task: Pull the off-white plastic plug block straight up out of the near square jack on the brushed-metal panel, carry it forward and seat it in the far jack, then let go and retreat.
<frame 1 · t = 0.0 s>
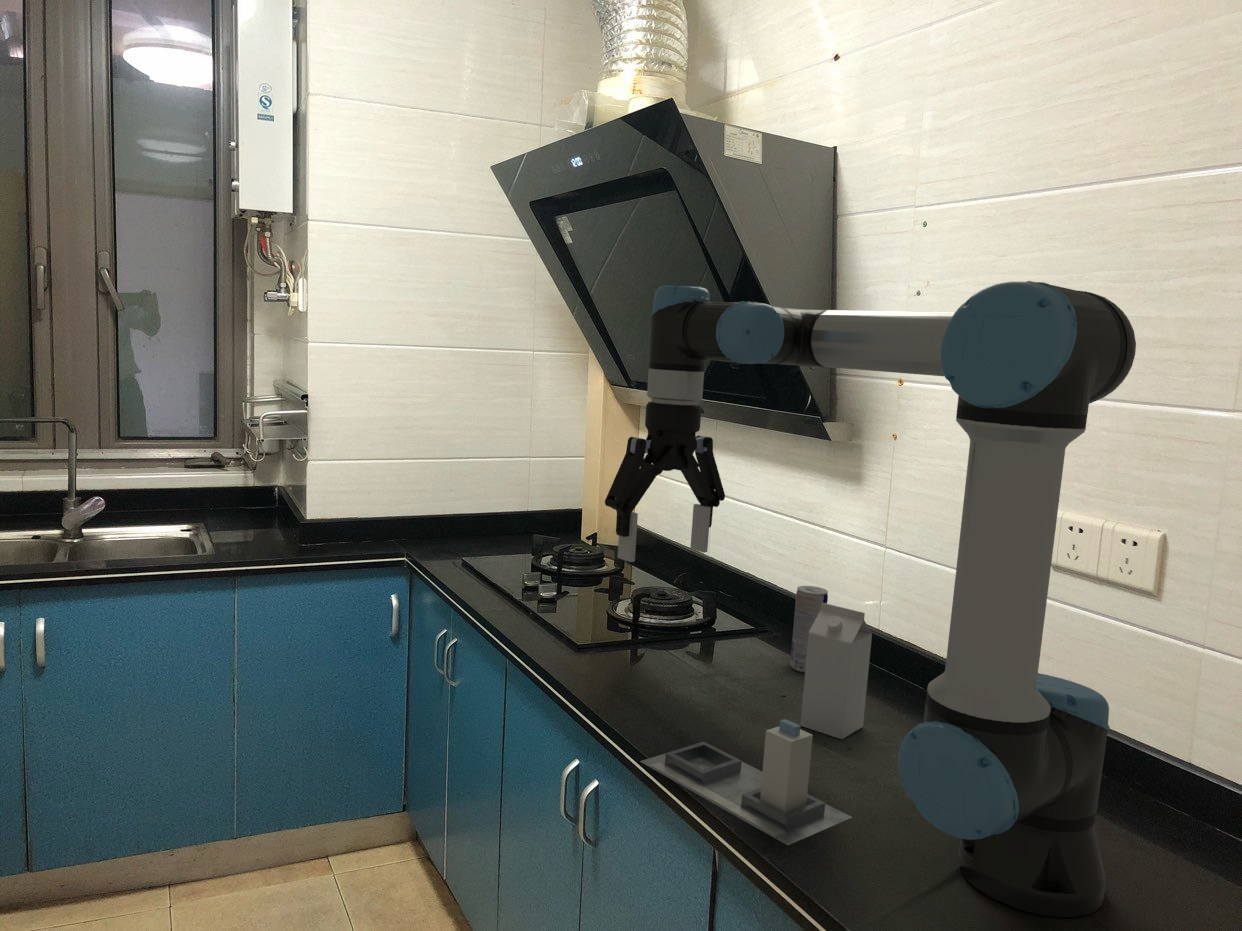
hand: (663, 555, 133), 28 cm above the worktop, fingers open, 13 cm apart
milk carton: (831, 728, 149), on the worktop
panel: (740, 795, 124), on the worktop
beverage can: (805, 670, 175), on the worktop
plug: (782, 810, 119), point 1 cm above the worktop, touching panel
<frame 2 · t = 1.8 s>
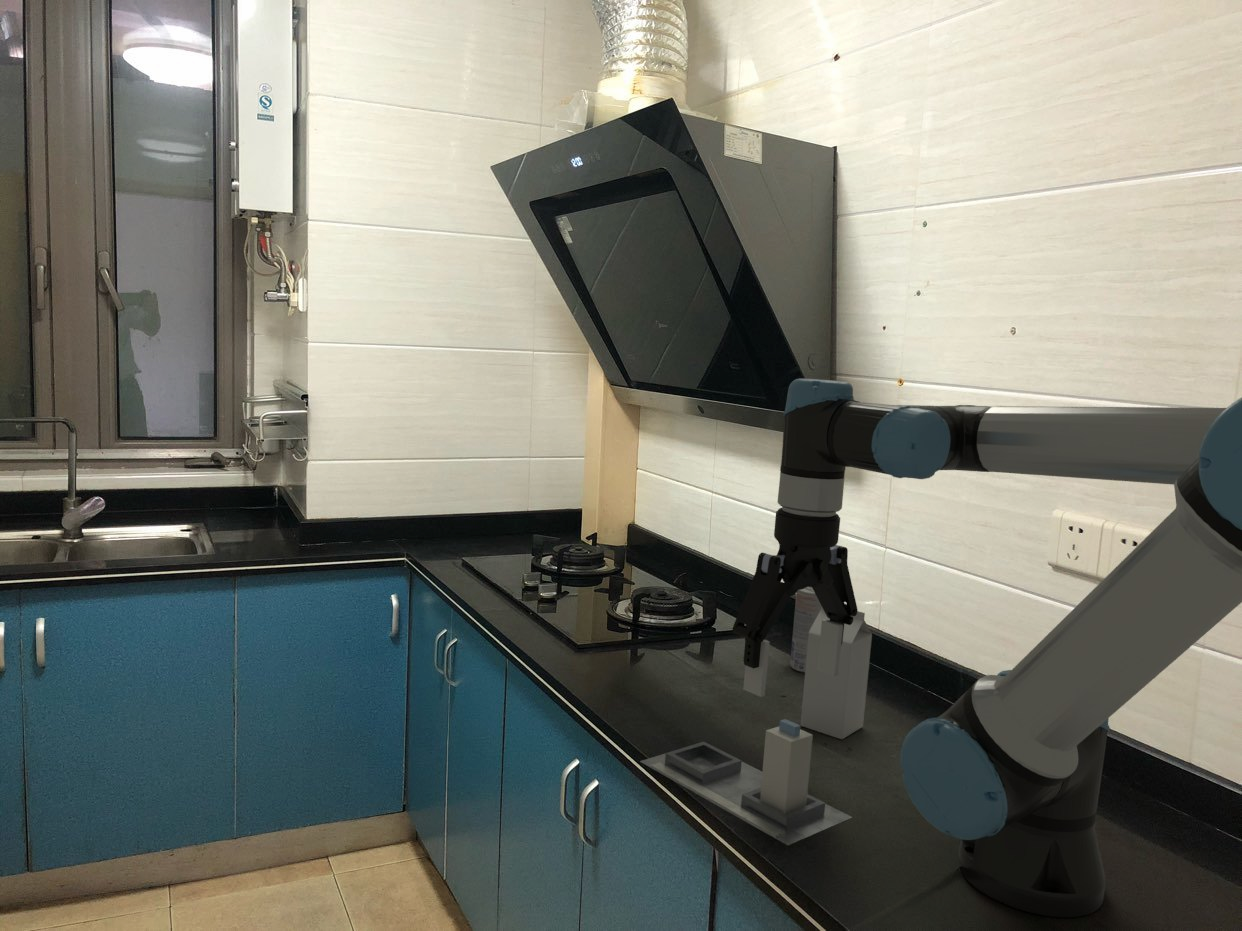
hand: (792, 682, 117), 17 cm above the worktop, fingers open, 13 cm apart
nothing on the worktop moved.
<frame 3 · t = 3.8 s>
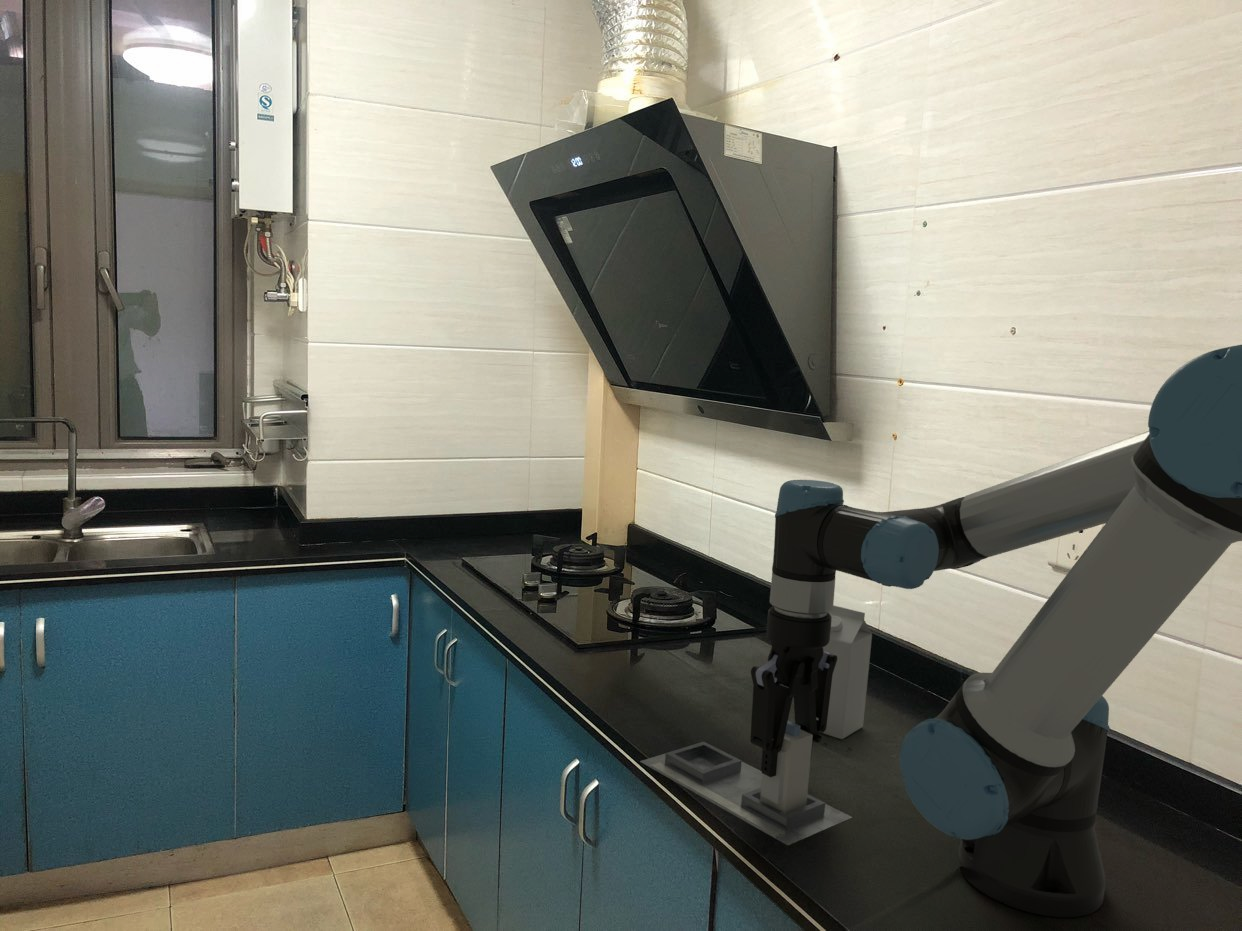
hand: (784, 793, 118), 3 cm above the worktop, fingers closed on plug, 4 cm apart
plug: (782, 810, 119), point 1 cm above the worktop, touching gripper, panel
everything else where it was.
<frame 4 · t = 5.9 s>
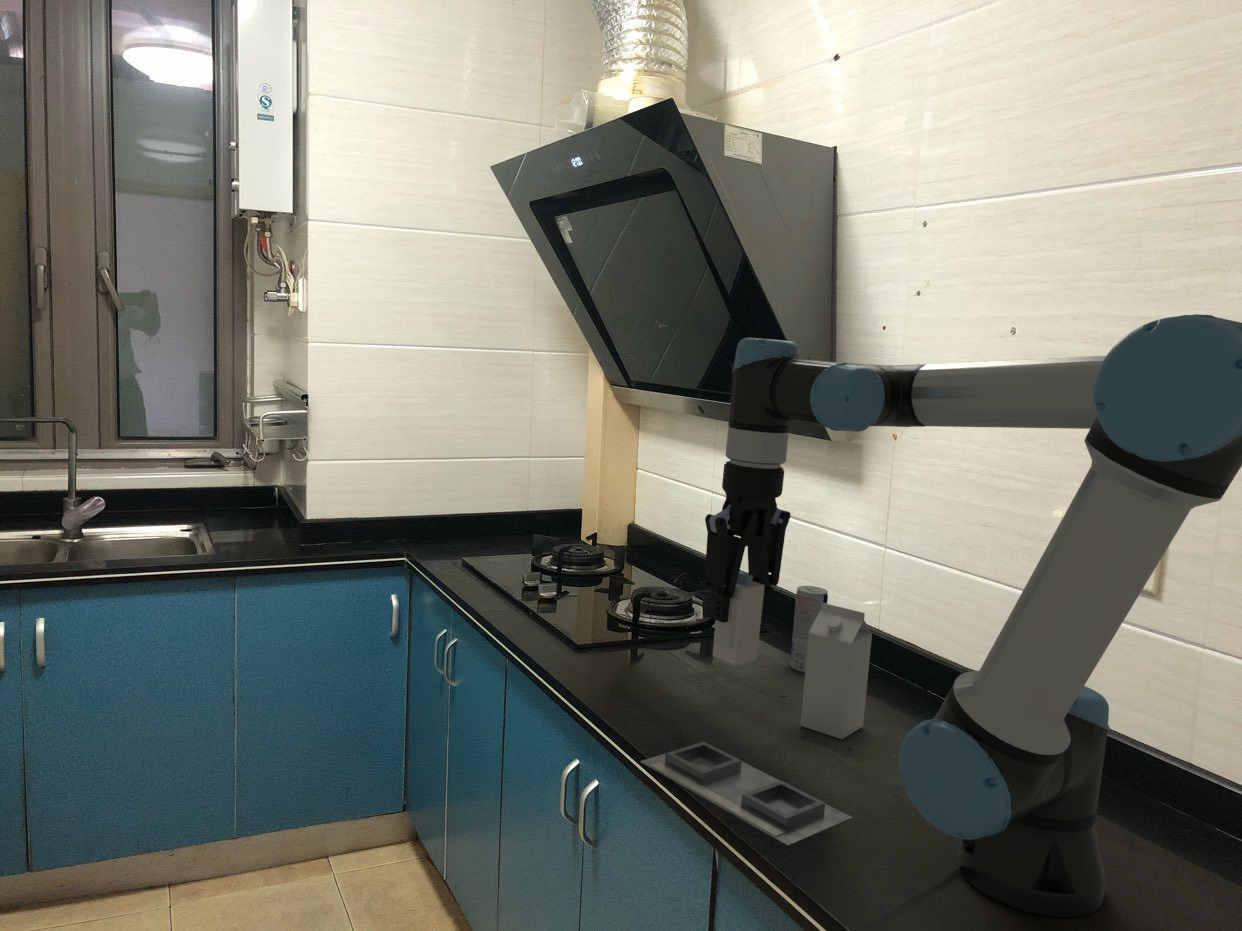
hand: (736, 641, 124), 20 cm above the worktop, fingers closed on plug, 4 cm apart
plug: (734, 657, 124), point 17 cm above the worktop, touching gripper
everything else where it was.
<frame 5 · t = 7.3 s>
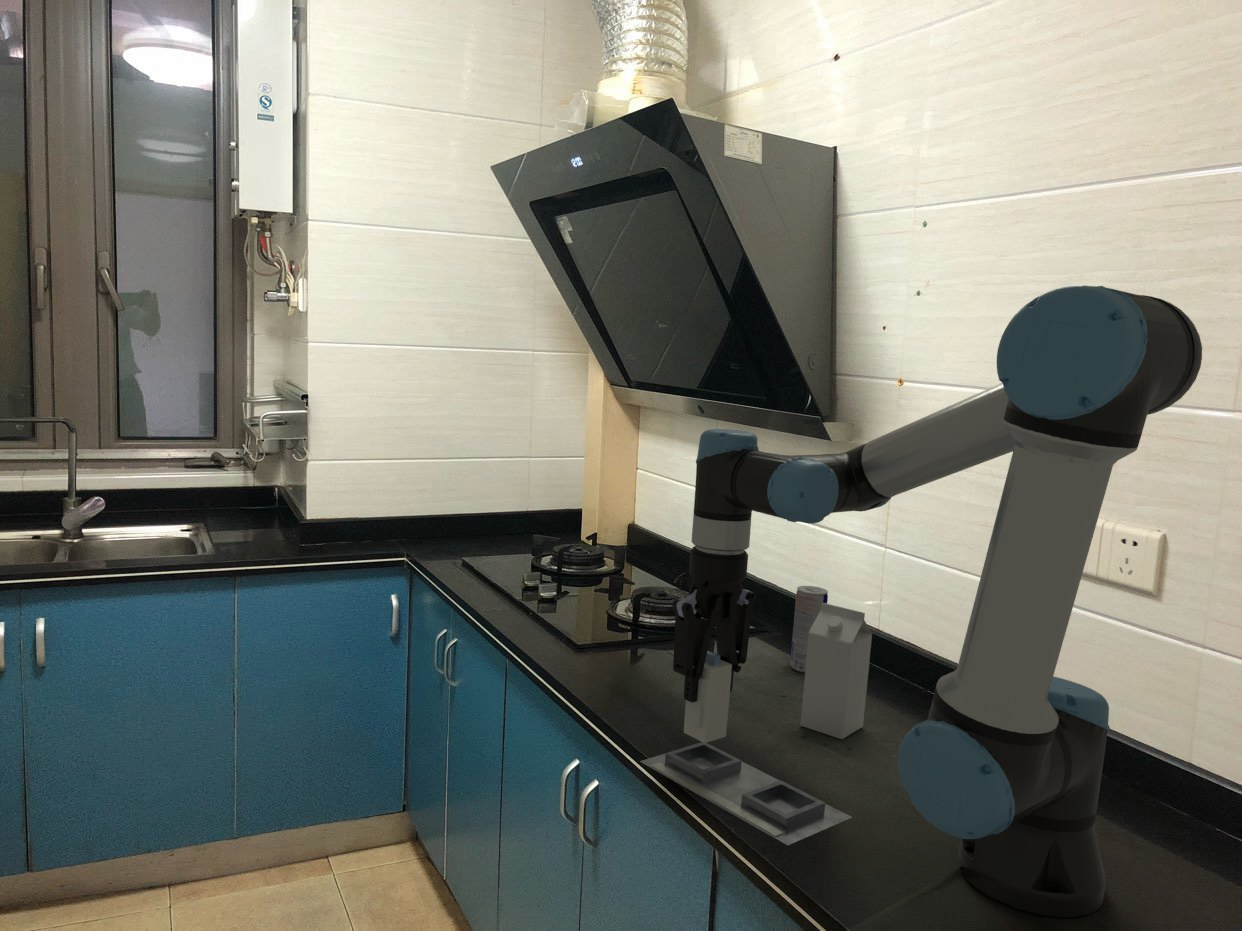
hand: (706, 719, 128), 8 cm above the worktop, fingers closed on plug, 4 cm apart
plug: (704, 734, 129), point 6 cm above the worktop, touching gripper
everything else where it was.
when the fingers open (4 cm above the worktop, at t = 8.4 s): plug stays where it is, resting on panel.
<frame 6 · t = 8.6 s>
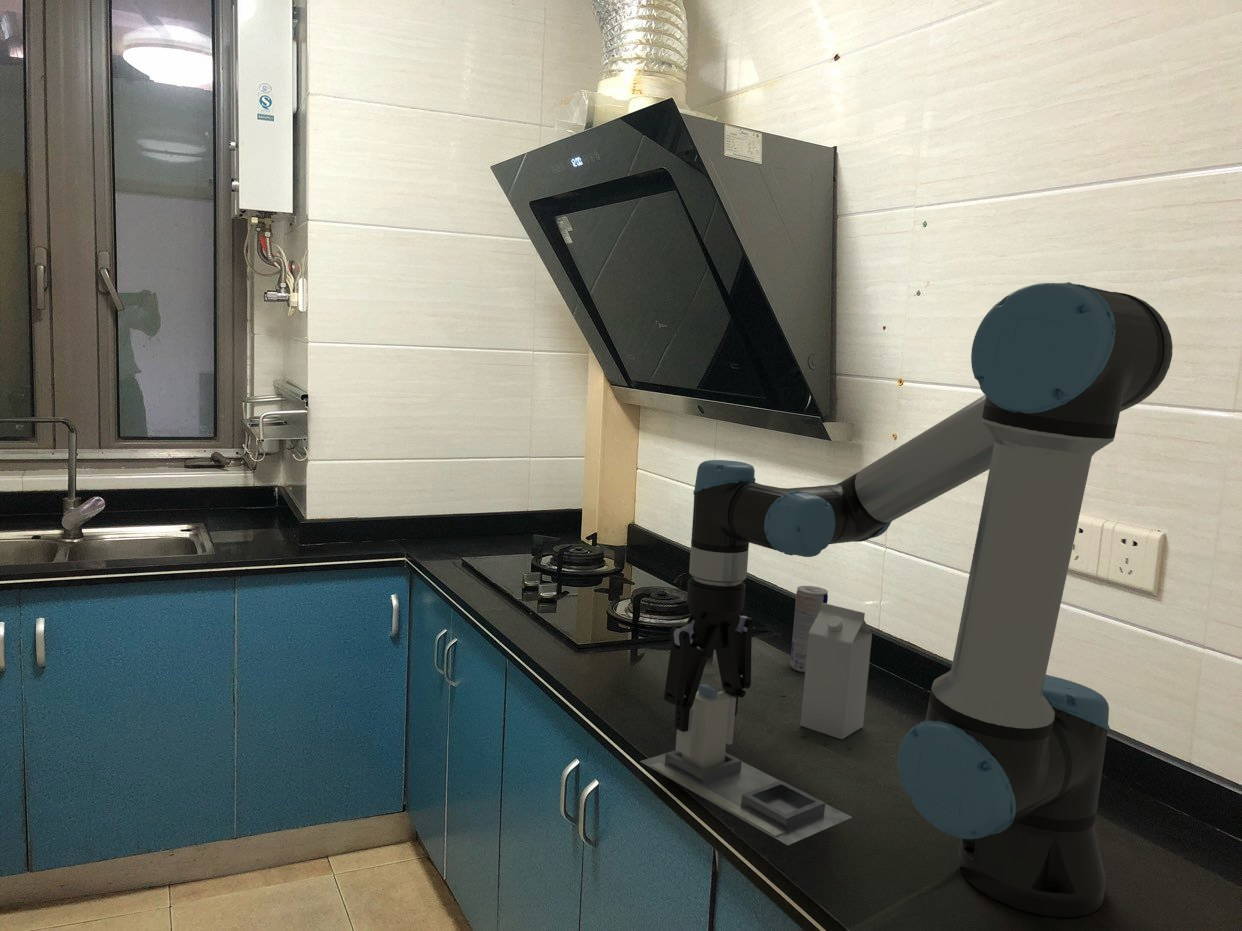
hand: (704, 746, 129), 4 cm above the worktop, fingers open, 7 cm apart
plug: (702, 767, 129), point 1 cm above the worktop, touching panel
everything else where it was.
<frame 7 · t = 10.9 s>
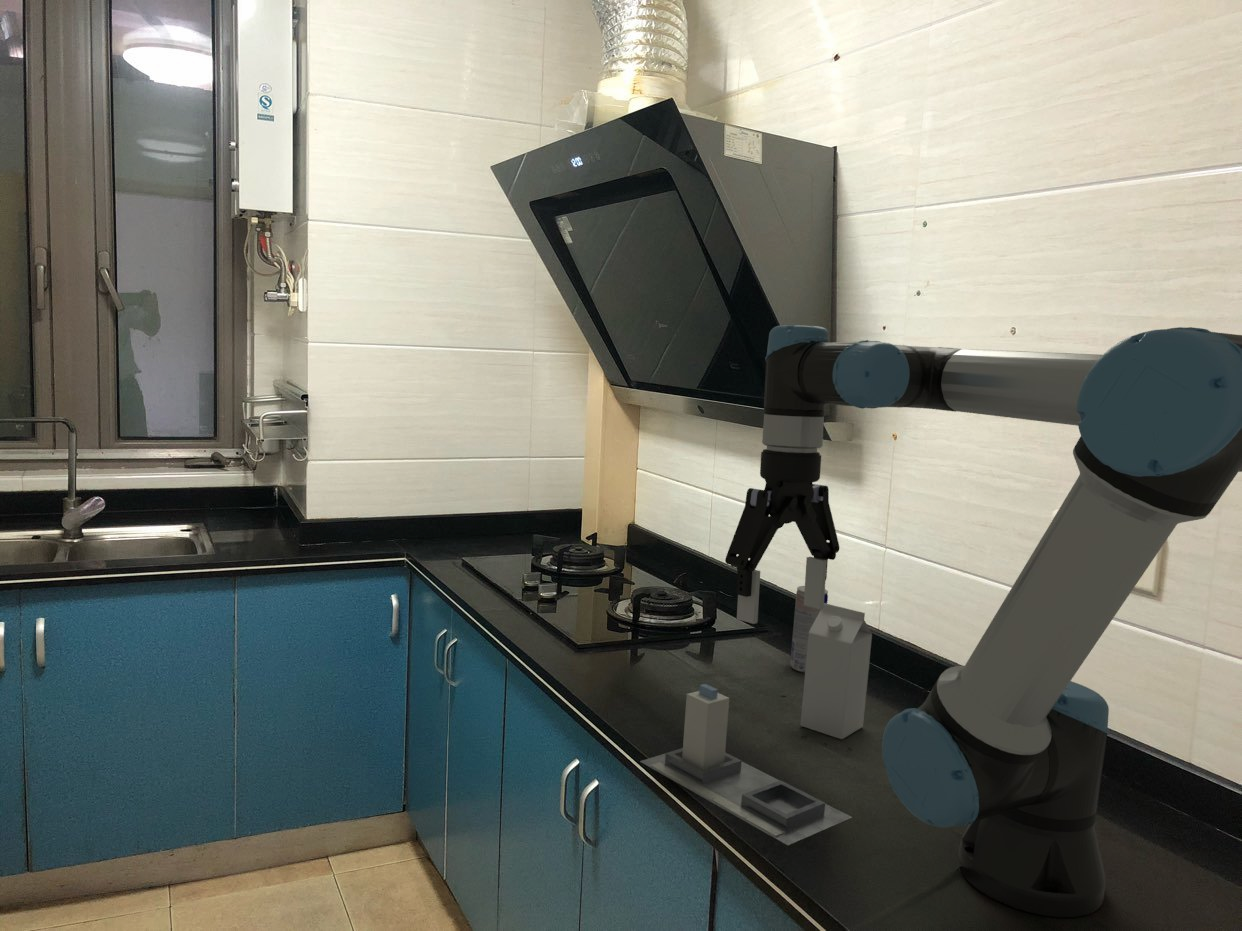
hand: (781, 614, 124), 24 cm above the worktop, fingers open, 13 cm apart
nothing on the worktop moved.
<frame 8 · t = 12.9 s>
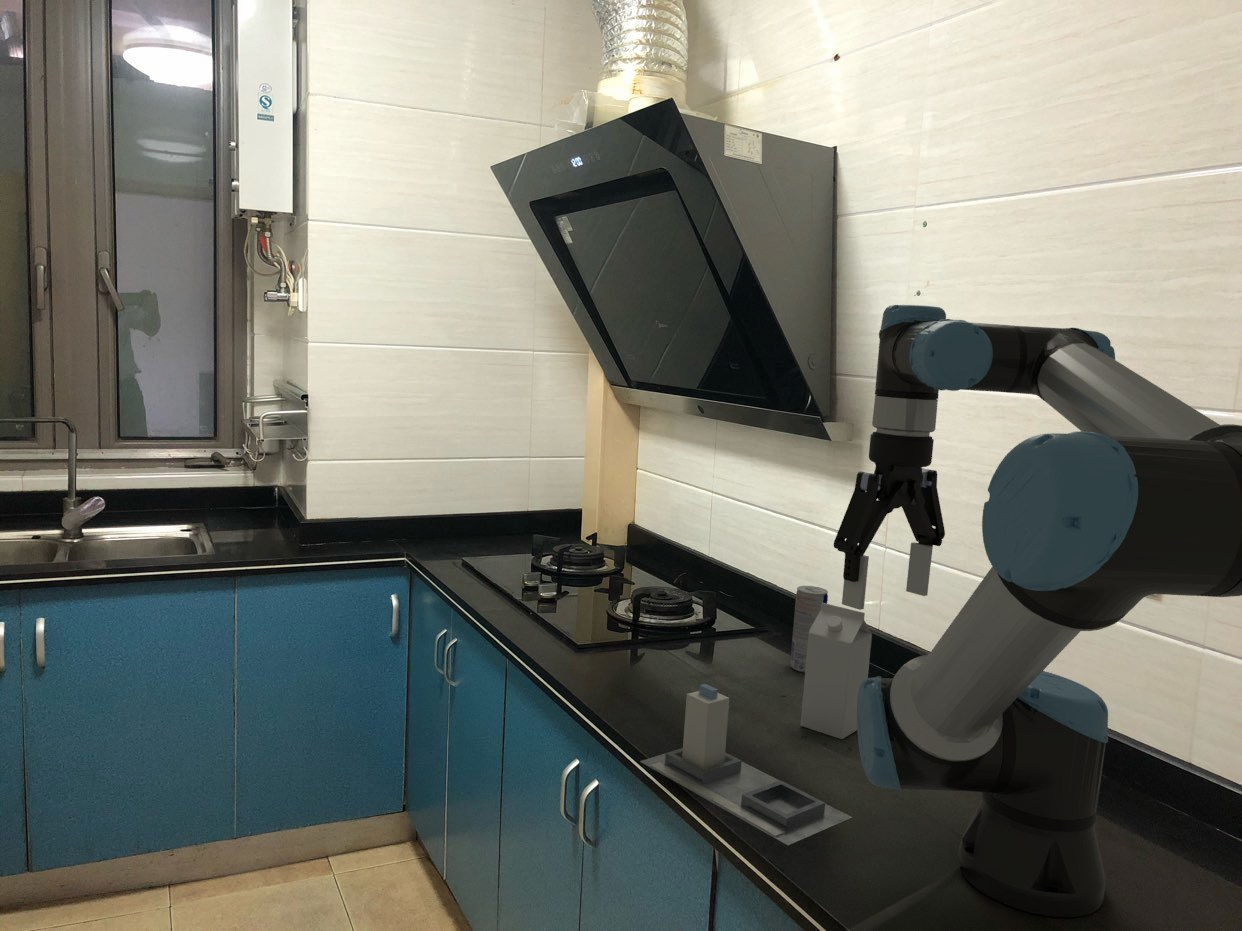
hand: (885, 600, 121), 27 cm above the worktop, fingers open, 13 cm apart
nothing on the worktop moved.
at the end: plug 0.0 cm from the target spot on the panel, point 1.0 cm above the panel's base; plug tilted 0°; the gripper is holding nothing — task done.
